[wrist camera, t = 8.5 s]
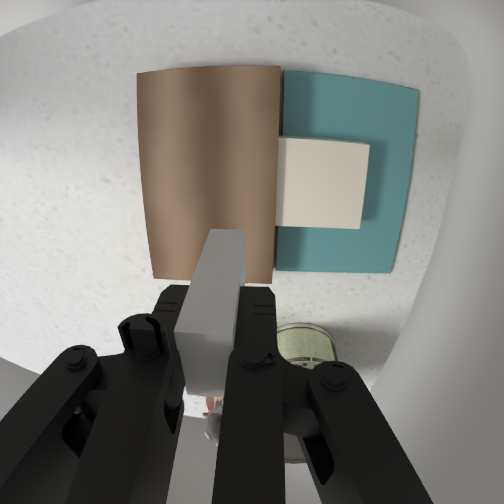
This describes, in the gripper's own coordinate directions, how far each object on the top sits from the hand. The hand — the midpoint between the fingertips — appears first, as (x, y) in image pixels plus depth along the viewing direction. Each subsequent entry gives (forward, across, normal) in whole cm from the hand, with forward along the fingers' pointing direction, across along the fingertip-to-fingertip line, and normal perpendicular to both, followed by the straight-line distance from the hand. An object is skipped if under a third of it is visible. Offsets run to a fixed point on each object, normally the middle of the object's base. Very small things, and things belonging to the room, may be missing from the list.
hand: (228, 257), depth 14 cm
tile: (+16, +7, 0) cm, 17 cm away
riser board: (+17, -3, 0) cm, 17 cm away
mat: (+16, +10, 0) cm, 19 cm away
